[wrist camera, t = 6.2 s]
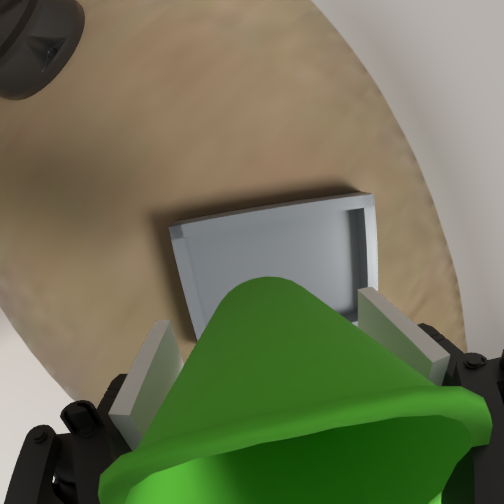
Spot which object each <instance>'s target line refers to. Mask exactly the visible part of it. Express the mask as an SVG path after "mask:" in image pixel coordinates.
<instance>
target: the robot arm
mask: <svg viewBox="0 0 504 504" xmlns="http://www.w3.org/2000/svg"><path fill="white" fill-rule="evenodd" d="M84 22H85V16H84V11H83V8H82V6H81V5H80V4H79V3H78V2H77V1H76V0H0V97H3V98H7V99H11V100H21V99H25V98H27V97H30V96H32V95H34V94H35V93H37V92H38V91H40V90H41V89H42V88H44V87H45V86H46V85H47V84H48V83H50V82H51V81H52V80H53V79H54V78H55V77H56V75H57V74H58V73H59V72H60V71H61V70H62V68H63V67H64V66H65V65H66V63H67V62H68V60H69V59H70V57H71V56H72V54H73V52H74V51H75V49H76V47H77V45H78V43H79V40H80V38H81V35H82V32H83V28H84ZM358 328H359V329H361V330H362V331H363V332H365V333H366V334H367V335H369V336H370V337H372V338H373V339H374V340H376V341H377V342H378V343H380V344H381V345H382V346H384V347H385V348H386V349H388V350H389V351H391V352H392V353H393V354H395V355H396V356H397V357H399V358H400V359H401V360H403V361H404V362H405V363H407V364H408V365H409V366H411V367H412V368H414V369H415V370H416V371H418V372H419V373H420V374H422V375H423V376H424V377H426V378H427V379H428V380H430V381H431V382H433V383H434V384H435V385H437V386H461V387H463V388H465V389H467V390H469V391H471V392H473V393H475V394H477V395H479V396H481V397H483V398H484V400H485V402H486V405H487V407H488V410H489V412H490V415H491V420H492V431H491V437H490V442H489V444H487V445H482V446H475V447H472V448H471V449H470V450H469V451H468V452H467V453H466V454H465V456H464V457H463V458H462V459H461V460H460V461H459V462H458V463H457V464H456V466H455V468H454V470H453V472H452V473H451V475H450V477H449V479H448V481H447V483H446V484H445V487H444V489H443V491H442V495H441V504H504V349H503V353H502V356H501V357H500V358H495V359H491V360H487V359H486V357H484V356H483V355H481V354H477V353H466V354H464V353H463V352H462V351H461V350H460V349H458V348H457V347H456V346H455V345H454V344H453V343H451V342H450V341H449V340H448V339H446V338H445V337H444V336H443V335H442V334H440V333H439V332H438V331H437V330H436V329H435V328H433V327H432V326H429V325H426V324H424V323H422V324H418V325H416V324H415V323H414V322H413V321H412V320H411V319H409V318H408V317H407V316H406V315H405V314H404V313H402V312H401V311H400V310H399V309H398V308H397V307H395V306H394V305H393V304H392V303H391V302H389V301H388V300H387V299H386V298H385V297H383V296H382V295H381V294H380V293H379V292H377V291H376V290H375V289H374V288H373V287H366V288H362V289H358ZM183 366H184V364H183V360H182V357H181V354H180V351H179V348H178V344H177V341H176V338H175V334H174V331H173V327H172V324H171V320H170V319H169V320H160V321H155V323H154V325H153V327H152V329H151V331H150V332H149V334H148V336H147V338H146V340H145V342H144V344H143V346H142V348H141V349H140V351H139V353H138V355H137V357H136V359H135V361H134V363H133V365H132V367H131V369H130V371H129V373H128V374H119V375H118V376H117V377H116V378H115V379H114V380H113V381H112V382H111V383H110V385H109V387H108V389H107V390H108V391H106V393H105V394H104V397H103V398H102V400H101V402H100V404H99V406H98V407H97V409H96V408H95V406H94V405H93V404H92V403H91V402H90V401H85V400H80V401H75V402H73V403H70V404H69V405H67V406H66V407H65V408H64V409H63V410H62V412H61V415H60V418H61V419H62V421H63V422H64V424H65V425H66V426H67V428H68V430H69V431H70V432H71V433H66V434H56V433H55V431H54V430H53V429H52V427H50V426H49V425H38V426H36V427H34V428H33V429H31V430H30V431H29V433H28V434H27V436H26V438H25V441H24V443H23V446H22V449H21V451H20V454H19V457H18V459H17V462H16V465H15V468H14V471H13V474H12V478H11V481H10V484H9V487H8V491H7V495H6V498H5V502H4V504H100V501H99V497H98V489H99V481H100V475H101V474H102V473H103V472H104V471H105V470H106V469H107V468H108V467H109V466H110V465H111V464H112V463H114V462H115V461H116V460H117V459H118V458H119V457H120V456H121V455H124V454H126V453H129V452H132V451H134V450H136V449H137V447H138V446H139V444H140V442H141V440H142V439H143V437H144V435H145V433H146V431H147V430H148V428H149V426H150V424H151V423H152V421H153V419H154V417H155V416H156V414H157V412H158V410H159V409H160V407H161V405H162V403H163V401H164V400H165V398H166V396H167V394H168V393H169V391H170V389H171V387H172V386H173V384H174V382H175V380H176V379H177V377H178V375H179V373H180V372H181V370H182V368H183ZM53 476H54V477H55V481H54V483H53V482H52V480H53Z"/></svg>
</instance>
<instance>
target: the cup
mask: <svg viewBox="0 0 504 504" xmlns="http://www.w3.org/2000/svg"><path fill="white" fill-rule="evenodd" d="M491 431H492V420H491V415H490V412H489V410H488V407H487V405H486V402H485V400H484V398H483V397H481V396H479V395H477V394H475V393H473V392H471V391H469V390H467V389H465V388H463V387H461V386H437V385H435V384H434V383H433V382H431V381H430V380H428V379H427V378H426V377H424V376H423V375H422V374H420V373H419V372H418V371H416V370H415V369H414V368H412V367H411V366H409V365H408V364H407V363H405V362H404V361H403V360H401V359H400V358H399V357H397V356H396V355H395V354H393V353H392V352H391V351H389V350H388V349H386V348H385V347H384V346H382V345H381V344H380V343H378V342H377V341H376V340H374V339H373V338H372V337H370V336H369V335H367V334H366V333H365V332H363V331H362V330H361V329H359V328H358V327H357V326H355V325H354V324H352V323H351V322H350V321H348V320H347V319H346V318H344V317H343V316H342V315H340V314H339V313H338V312H336V311H335V310H333V309H332V308H331V307H329V306H328V305H327V304H325V303H324V302H323V301H321V300H320V299H318V298H317V297H316V296H314V295H313V294H312V293H310V292H309V291H308V290H306V289H305V288H304V287H302V286H300V285H299V284H297V283H295V282H293V281H291V280H288V279H284V278H281V277H268V276H265V277H259V278H254V279H250V280H248V281H246V282H243V283H241V284H239V285H237V286H236V287H235V288H233V289H232V290H231V291H229V292H228V293H227V294H226V296H225V297H224V298H223V299H222V301H221V302H220V303H219V305H218V307H217V309H216V310H215V312H214V314H213V316H212V317H211V319H210V321H209V323H208V324H207V326H206V328H205V330H204V331H203V333H202V335H201V337H200V338H199V340H198V342H197V344H196V345H195V347H194V349H193V351H192V352H191V354H190V356H189V358H188V359H187V361H186V363H185V365H184V366H183V368H182V370H181V372H180V373H179V375H178V377H177V379H176V380H175V382H174V384H173V386H172V387H171V389H170V391H169V393H168V394H167V396H166V398H165V400H164V401H163V403H162V405H161V407H160V409H159V410H158V412H157V414H156V416H155V417H154V419H153V421H152V423H151V424H150V426H149V428H148V430H147V431H146V433H145V435H144V437H143V439H142V440H141V442H140V444H139V446H138V447H137V449H136V450H134V451H132V452H129V453H126V454H124V455H121V456H120V457H119V458H118V459H117V460H116V461H115V462H114V463H112V464H111V465H110V466H109V467H108V468H107V469H106V470H105V471H104V472H103V473H102V474H101V475H100V481H99V489H98V497H99V501H100V504H441V495H442V491H443V489H444V487H445V484H446V483H447V481H448V479H449V477H450V475H451V473H452V472H453V470H454V468H455V466H456V464H457V463H458V462H459V461H460V460H461V459H462V458H463V457H464V456H465V454H466V453H467V452H468V451H469V450H470V449H471V448H472V447H475V446H482V445H487V444H489V442H490V437H491Z"/></svg>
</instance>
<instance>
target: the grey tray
mask: <svg viewBox="0 0 504 504" xmlns="http://www.w3.org/2000/svg"><path fill="white" fill-rule="evenodd" d="M168 228H169V232H170V237H171V241H172V246H173V250H174V254H175V259H176V263H177V267H178V271H179V275H180V279H181V283H182V287H183V291H184V295H185V298H186V302H187V306H188V309H189V313H190V317H191V320H192V324H193V327H194V331H195V334H196V338H197V341H198V340H199V338H200V337H201V335H202V333H203V331H204V330H205V328H206V326H207V324H208V323H209V321H210V319H211V317H212V316H213V314H214V312H215V310H216V309H217V307H218V305H219V303H220V302H221V301H222V299H223V298H224V297H225V296H226V294H227V293H228V292H229V291H231V290H232V289H233V288H235V287H236V286H237V285H239V284H241V283H243V282H246V281H248V280H250V279H254V278H259V277H265V276H268V277H281V278H284V279H288V280H291V281H293V282H295V283H297V284H299V285H300V286H302V287H304V288H305V289H306V290H308V291H309V292H310V293H312V294H313V295H314V296H316V297H317V298H318V299H320V300H321V301H323V302H324V303H325V304H327V305H328V306H329V307H331V308H332V309H333V310H335V311H336V312H338V313H339V314H340V315H342V316H343V317H344V318H346V319H347V320H348V321H350V322H351V323H352V324H354V325H355V326H357V327H358V289H362V288H366V287H373V288H374V289H375V290H376V291H377V292H378V255H377V232H376V216H375V203H374V194H372V193H366V192H354V193H346V194H338V195H331V196H324V197H317V198H310V199H303V200H296V201H290V202H283V203H277V204H271V205H264V206H258V207H252V208H246V209H241V210H235V211H229V212H224V213H218V214H213V215H207V216H202V217H197V218H191V219H186V220H181V221H176V222H174V223H173V224H172V225H170V226H169V227H168Z"/></svg>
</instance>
